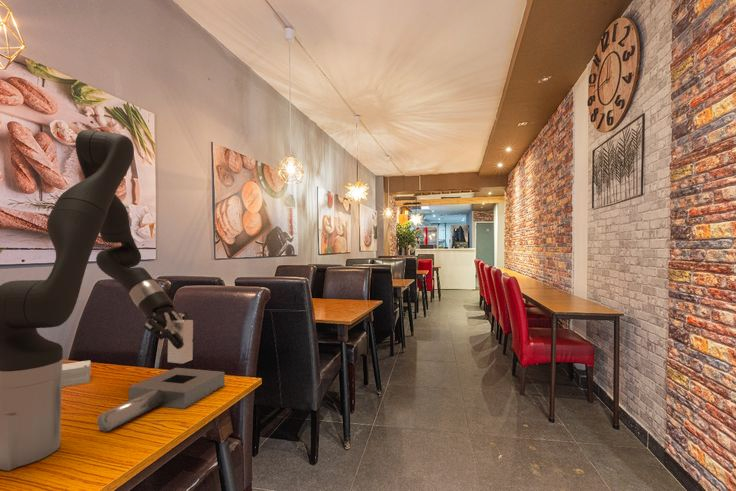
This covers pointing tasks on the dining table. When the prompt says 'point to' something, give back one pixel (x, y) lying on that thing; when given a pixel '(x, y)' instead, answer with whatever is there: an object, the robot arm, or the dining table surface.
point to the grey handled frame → (163, 394)
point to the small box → (76, 373)
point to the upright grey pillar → (186, 335)
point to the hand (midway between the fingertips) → (186, 344)
